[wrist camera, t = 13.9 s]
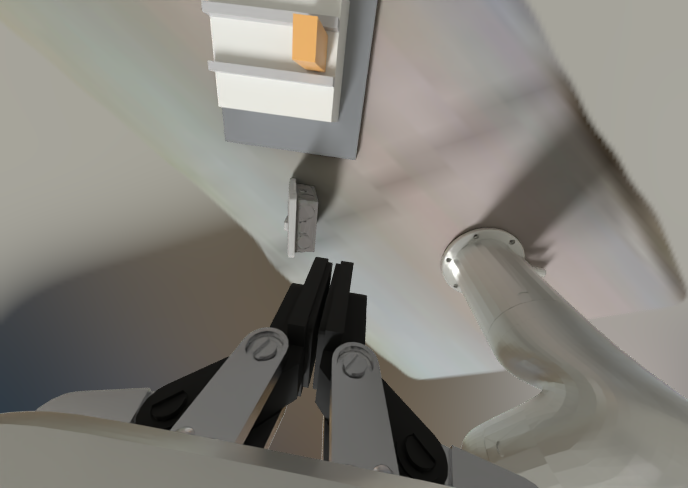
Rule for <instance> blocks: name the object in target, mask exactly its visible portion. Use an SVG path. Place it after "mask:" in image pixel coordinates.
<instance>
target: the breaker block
mask: <svg viewBox="0 0 688 488" xmlns="http://www.w3.org/2000/svg"><path fill="white" fill-rule="evenodd" d="M377 3H378V0H208V1H203V0H201V4H202V12H204V13H205V14H207V15H209V16H210V23H211V33H212V43H213V54H214V61H208V68H209V70H211V71H214V72H215V74H216V84H217V94H218V104H219V107H222V110H223V121H224V132H225V141H227V142H234V143H241V144H248V145H255V146H262V147H269V148H276V149H282V150H289V151H296V152H303V153H310V154H317V155H324V156H331V157H338V158H345V159H352V160H356V155H357V148H358V141H359V133H360V126H361V119H362V112H363V105H364V97H365V90H366V83H367V76H368V68H369V61H370V54H371V47H372V39H373V32H374V25H375V18H376V11H377ZM293 13H294V14H302V15H310V16H318V18H319V20H320V22H321V23H322V25H323V27H324V29H325V31H326V33H327V35H328V43H327V57H326V71H325V72H317V71H310V70H306V69H304V68H303V67H302V66H300V65H299V64H297V63H296V62H295V61H293V60H292V38H293Z"/></svg>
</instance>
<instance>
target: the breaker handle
mask: <svg viewBox="0 0 688 488" xmlns="http://www.w3.org/2000/svg"><path fill="white" fill-rule="evenodd" d="M327 43H328V35H327V33H326V31H325V29H324V27H323V25H322V23H321V22H320V20H319V18H318V16H310V15H302V14H294V13H293V38H292V60H293V61H295V62H296V63H297V64H299V65H300V66H302V67H303V68H304V69H306V70H310V71H317V72H325V71H326V57H327Z"/></svg>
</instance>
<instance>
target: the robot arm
mask: <svg viewBox="0 0 688 488" xmlns="http://www.w3.org/2000/svg"><path fill="white" fill-rule="evenodd" d="M475 234H476V235H475ZM353 264H354V263H351V262H345V261H341V264H337V263H336V266H335V270H334V273H333V277H332V281H331V285H330V280H331V272H332V263H330V262H328V259H326V258H320V257H316V258H315V260H314V262H313V264H312V267H311V269H310V271H309V274H308V276H307V279H306V281H305V283H304V285H302V284H296V283H292V284H291V286H290V288H289V290H288V292H287V294H286V296H285V298H284V300H283V302H282V304H281V306H280V308H279V310H278V312H277V314H276V315H275V318H274V319H273V322H272V324H271V326H270V327H268V328H260V329H257V330H255V331H253V332H251V333H249V334H248V335H247V336H246V337H245V338H244V339H243V340H242V342H241V343H240V344H239V346H238V347H237V348H236V349H235V350H234V352H233V353H232V354H231V355H230V356H229V357H227V358H224V359H222V360H220V361H218V362H215V363H213V364H211V365H209V366H207V367H204V368H202V369H200V370H198V371H196V372H194V373H191V374H189V375H187V376H185V377H182V378H180V379H178V380H176V381H174V382H171V383H169V384H167V385H165V386H163V387H162V388H160V389H158V390H157V391H150V388H134V389H115V390H95V391H77V392H72V393H67V394H64V395H61V396H59V397H57V398H54V399H52V400H51V401H49V402H47V403H46V404H44V405H43V406H41V407H40V408H38V409H37V410H36V411H24V412H10V413H2V414H0V488H688V399H687V398H685V397H684V396H683V395H681V394H680V393H679V392H677V391H676V390H674V389H673V388H672V387H670V386H669V385H668V384H666V383H665V382H663V381H662V380H661V379H659V378H658V377H656V376H655V375H654V374H652V373H651V372H649V371H648V370H647V369H645V368H644V367H643V366H642V365H640V364H639V363H638V362H636V361H635V360H634V359H633V358H631V357H630V356H629V355H628V354H626V353H625V352H624V351H623V350H621V349H620V348H619V347H618V346H616V345H615V344H614V343H613V342H612V341H611V340H610V339H608V338H607V337H606V336H605V335H604V334H603V333H602V332H600V331H599V330H598V329H597V328H596V327H595V326H593V325H592V324H591V323H590V322H589V321H588V320H587V319H586V318H585V317H584V316H583V315H582V314H581V313H579V312H578V311H577V310H576V309H575V308H574V307H573V306H572V305H570V304H569V303H568V302H567V301H566V300H565V299H564V298H563V297H562V296H561V295H560V294H559V293H558V292H557V291H556V290H555V289H553V288H552V287H551V286H550V285H549V284H548V283H547V282H546V281H545V280H544V279H543V278H542V277H544V276H545V275H546V270H545V269H544V268H539V267H532V266H531V265H530V264H529V263H528V262H527V261H526V260H525V253H524V249H523V247H522V244H521V243H520V242H519V241H518V239H516V238H515V237H514V236H513V235H512V234H510V233H508V232H507V231H504V230H501V229H497V228H480V229H475V230H472V231H469V232H467V233H465V234H463V235H461V236H459V237H458V238H457V239H455V240H454V241H453V242H452V243H451V244H450V245H449V246H448V248H447V249H446V251H445V252H444V255H443V257H442V261H441V271H442V274H443V277H444V279H445V281H446V282H447V283H448V285H449V286H450V287H451V288H453V289H454V290H456V291H458V292H460V293H463V295H464V297H465V299H466V301H467V303H468V305H469V307H470V309H471V311H472V313H473V315H474V317H475V319H476V321H477V323H478V325H479V327H480V329H481V330H482V332H483V334H484V336H485V338H486V340H487V342H488V344H489V346H490V348H491V350H492V352H493V354H494V355H495V357H496V358H497V360H498V361H499V363H500V364H501V365H502V366H503V367H504V368H505V369H506V370H507V371H508V372H509V373H511V374H512V375H513V376H515V377H517V378H518V379H520V380H522V381H523V382H525V383H527V384H529V385H531V386H534V387H536V388H538V389H540V390H542V391H541V392H540V393H539V394H538V395H537V396H535V397H533V398H531V399H529V400H527V401H526V402H525V403H523V404H521V405H519V406H517V407H515V408H513V409H511V410H509V411H507V412H504V413H502V414H500V415H498V416H496V417H494V418H492V419H490V420H488V421H486V422H485V423H483V424H480V425H479V426H477V427H475V428H474V429H473V430H471V431H470V432H469V433H468V434H467V435H466V437H465V439H464V441H463V443H462V447H461V449H460V448H457V447H455V446H453V445H452V446H451V447H450V448H449V447H446V446H444V445H442V444H441V443H440V442H439V441H438V439H437V438H436V437H435V435H434V434H433V433H432V432H431V431H430V430H429V429H428V428H427V427H426V426H425V425H424V423H423V422H422V421H421V420H420V419H419V418H418V417H417V416H416V415H415V414H414V413H413V411H412V410H411V409H410V408H409V407H408V406H407V405H406V404H405V403H404V402H403V401H402V400H401V398H400V397H399V396H398V395H397V394H396V393H395V392H394V391H393V390H392V389H391V388H390V386H389V385H388V384H387V383H386V382H385V381H384V380H383V379H382V378H381V373H380V367H379V362H378V359H377V357H376V355H375V354H374V352H373V351H372V350H371V349H370V348H369V347H367V346H365V332H366V306H367V295H362V294H356V293H350V285H351V278H352V271H353ZM315 359H316V362H315ZM314 363H315V372H314V381H313V389H317V392H316V401H315V403H316V404H317V406H318V407H319V409H320V410H321V412H322V414H323V415H324V417H323V438H322V460H318V459H314V458H308V457H303V456H298V455H293V454H288V453H283V452H278V451H273V450H268V449H269V446H270V444H271V442H272V440H273V438H274V435H275V433H276V431H277V429H278V426H279V424H280V422H281V420H282V418H283V416H284V413H285V411H286V407H287V405H288V404H290V403H291V402H293V401H294V400H296V399H297V396H301V393H302V389H303V387H307V388H308V387H309V383H310V379H311V375H312V371H313V367H314Z"/></svg>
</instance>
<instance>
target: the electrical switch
mask: <svg viewBox="0 0 688 488" xmlns="http://www.w3.org/2000/svg"><path fill="white" fill-rule="evenodd" d="M316 201H318V198H317V195H316V191H315V187H314V186H310V185H305V184H296V179H294V178H290V183H289V199H288V216H287V218H286V219H285V222H284V230H285V231H288V247H287V250H288V257H294V253H295V252H314V249H315V237H316V224H317V212H318V202H316ZM314 209H315V210H314Z"/></svg>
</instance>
